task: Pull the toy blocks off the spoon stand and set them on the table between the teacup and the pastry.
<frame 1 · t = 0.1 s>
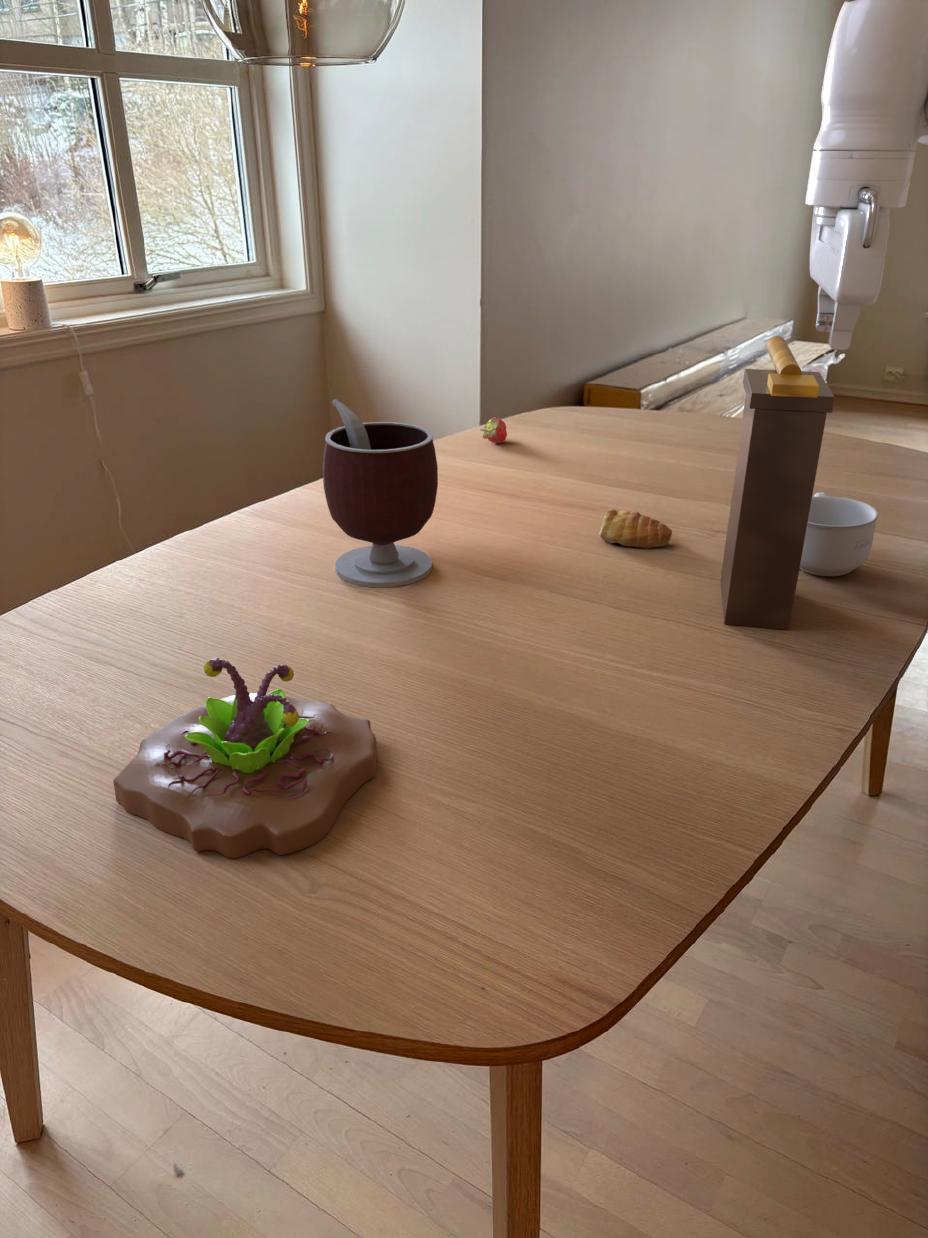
hand: (831, 339, 94), 31 cm above the table, tool pointing down, fingers open, 8 cm apart
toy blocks: (784, 375, 103), point 26 cm above the table, touching spoon stand
pastry: (630, 540, 130), on the table
plant: (252, 778, 81), on the table
spoon stand: (752, 604, 112), on the table
teacup: (820, 564, 123), on the table
fruit: (496, 443, 172), on the table
mate gourd: (379, 567, 122), on the table
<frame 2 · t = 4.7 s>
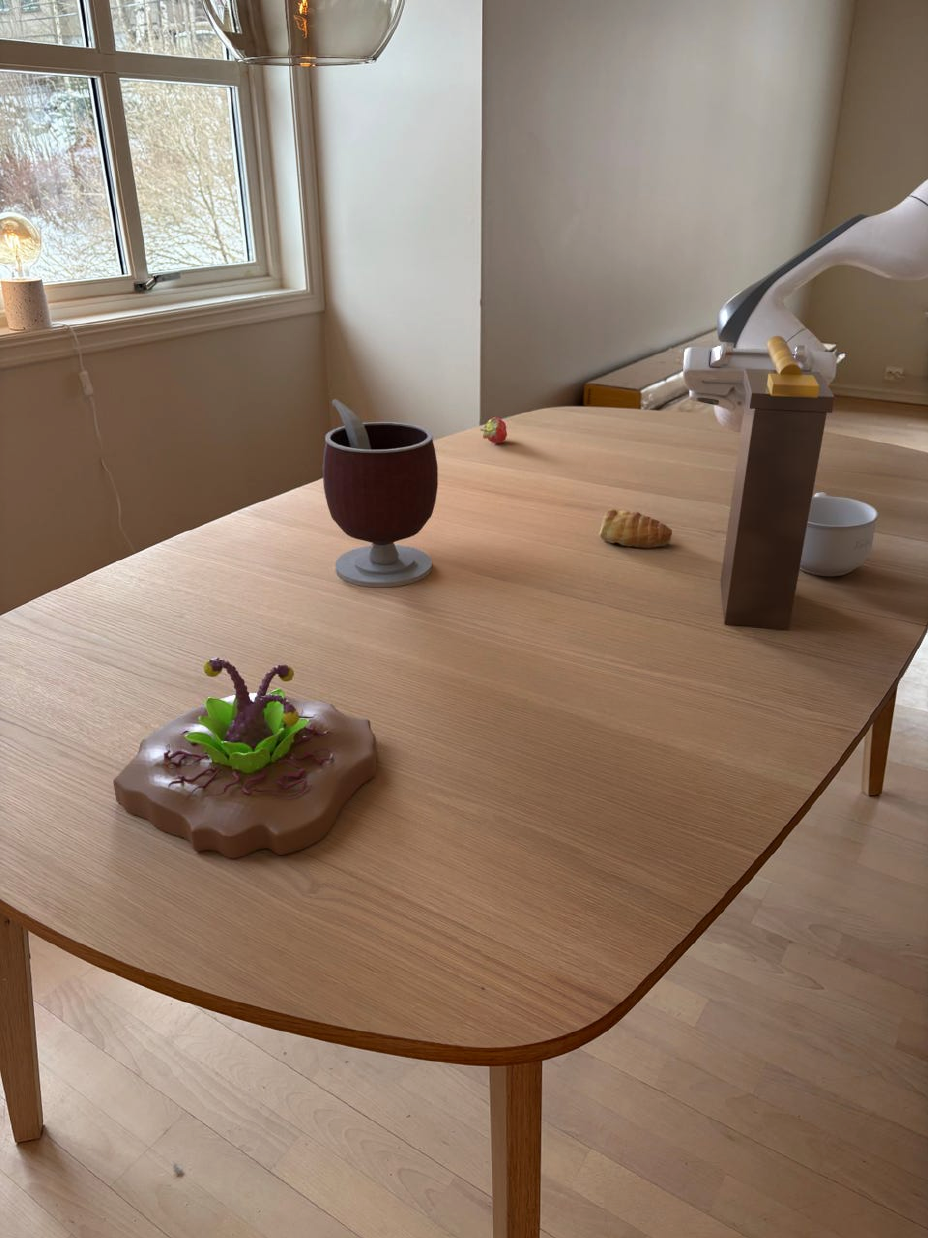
hand: (764, 349, 124), 24 cm above the table, tool pointing upward, fingers open, 8 cm apart
nothing on the table moved.
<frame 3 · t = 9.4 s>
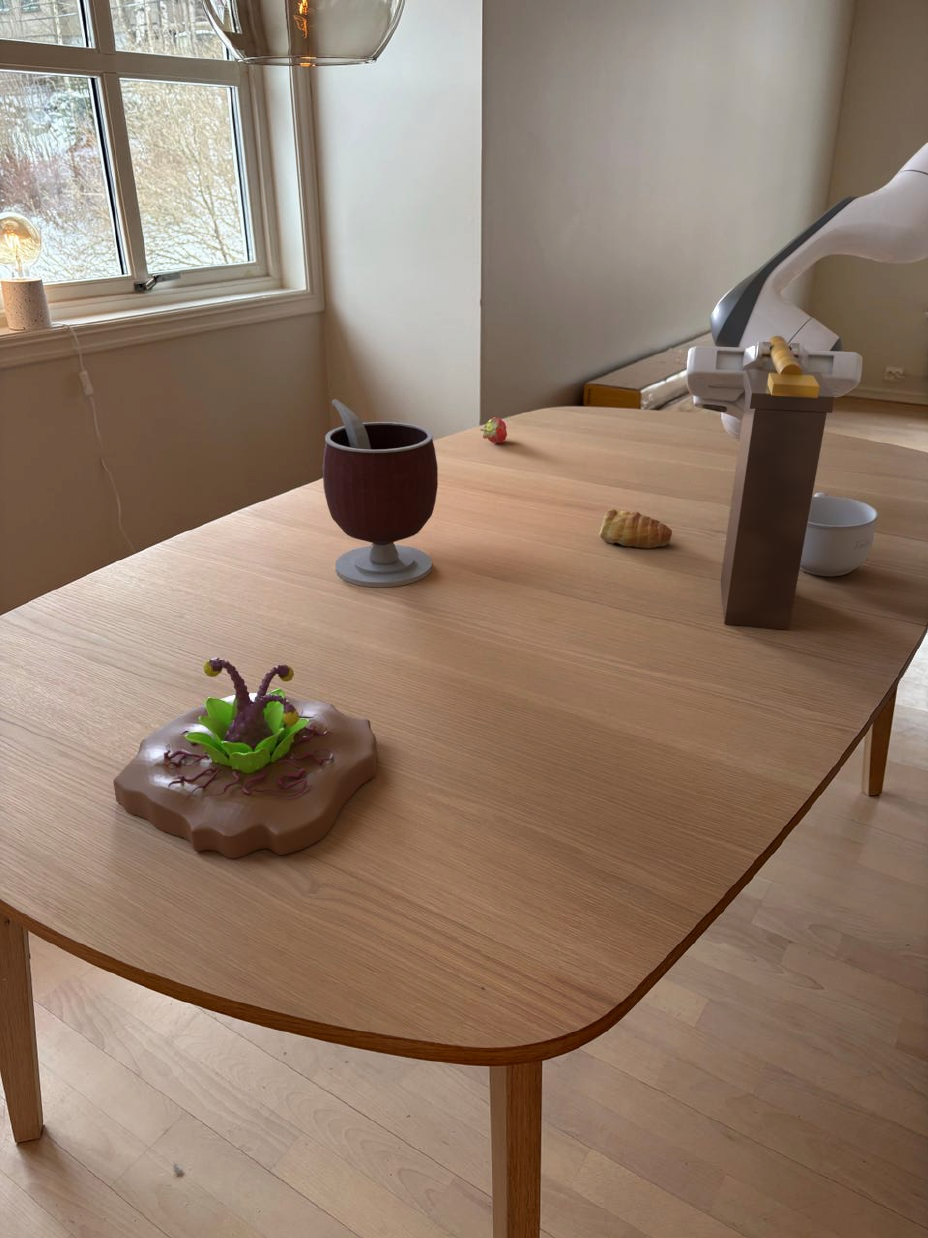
hand: (780, 348, 108), 28 cm above the table, tool pointing upward, fingers closed on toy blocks, 2 cm apart
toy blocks: (784, 375, 103), point 26 cm above the table, touching gripper, spoon stand
everything else where it was.
when the fingers open (17 cm above the table, at t = 16.5 s): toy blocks drops 16 cm, on the table.
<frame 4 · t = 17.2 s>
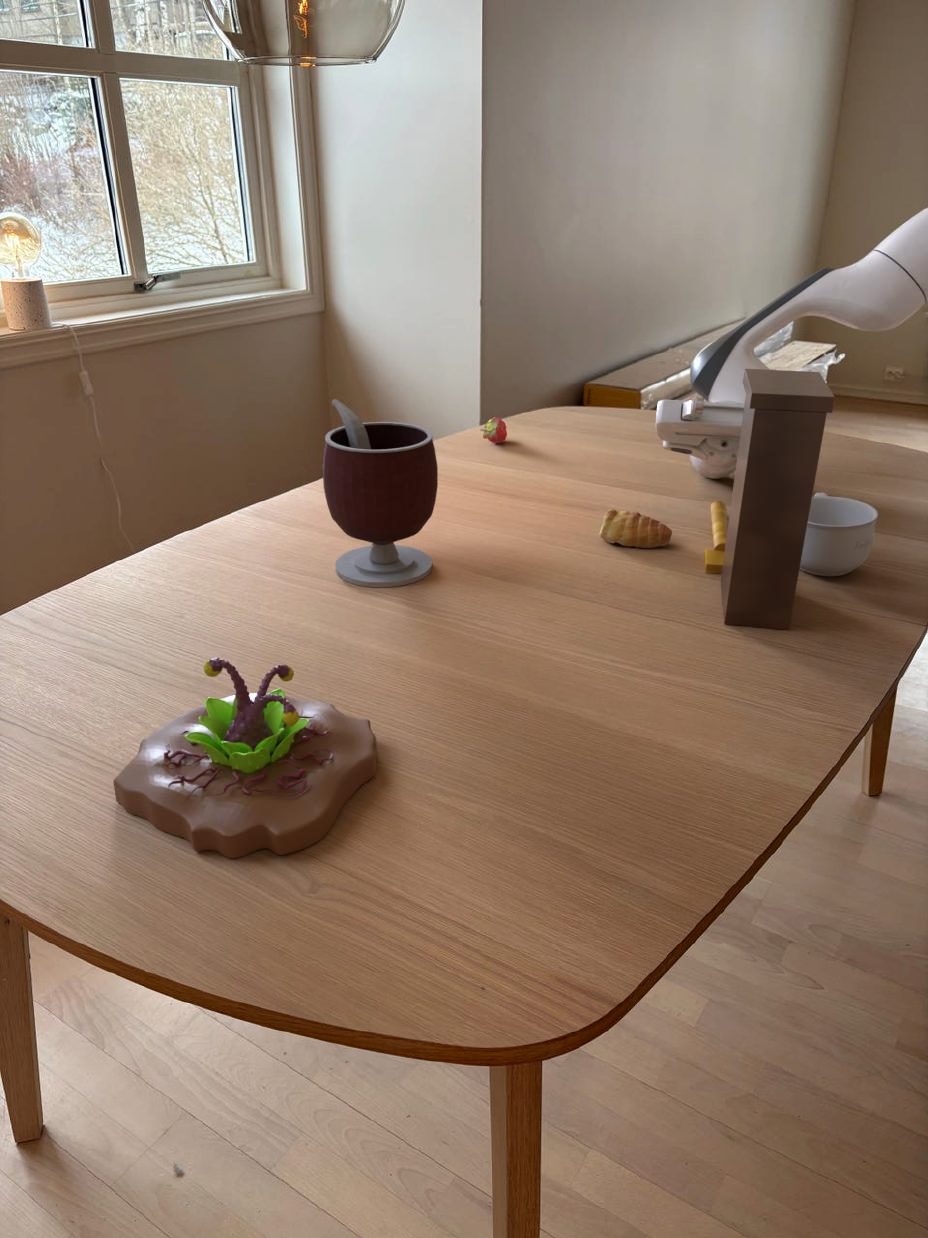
hand: (734, 405, 127), 17 cm above the table, tool pointing upward, fingers open, 8 cm apart
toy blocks: (720, 544, 128), on the table
everything else where it was.
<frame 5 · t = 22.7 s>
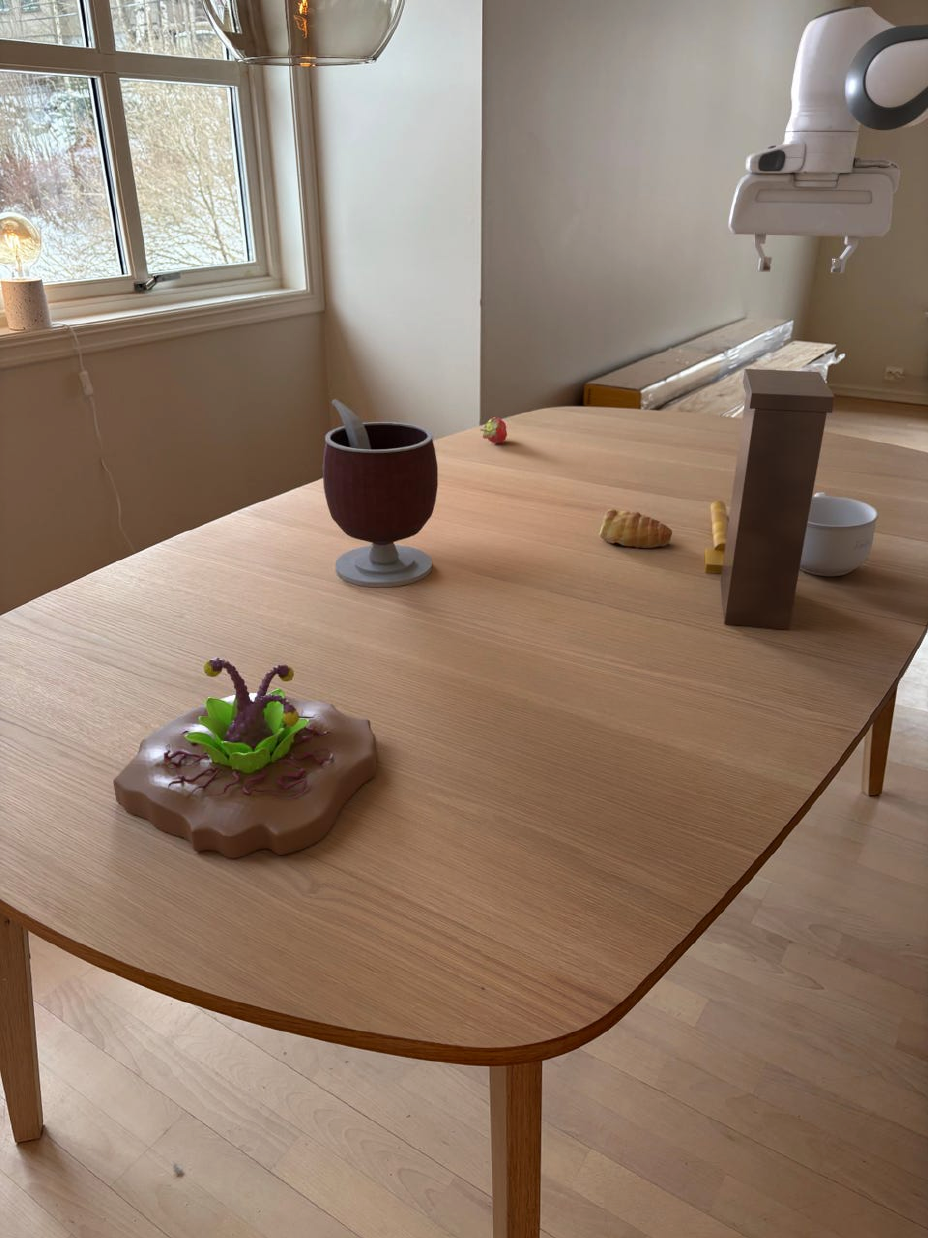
hand: (800, 271, 128), 33 cm above the table, tool pointing down, fingers open, 8 cm apart
nothing on the table moved.
at the end: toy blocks inside the target area on the table beside the teacup (1.1 cm from its centre), on the table; pastry inside the target area on the table beside the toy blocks (0.5 cm from its centre), on the table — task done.
